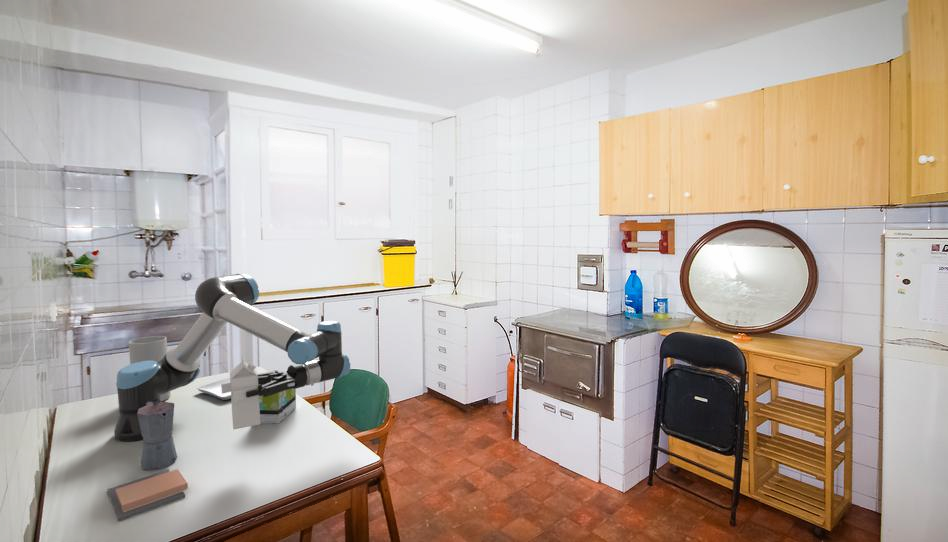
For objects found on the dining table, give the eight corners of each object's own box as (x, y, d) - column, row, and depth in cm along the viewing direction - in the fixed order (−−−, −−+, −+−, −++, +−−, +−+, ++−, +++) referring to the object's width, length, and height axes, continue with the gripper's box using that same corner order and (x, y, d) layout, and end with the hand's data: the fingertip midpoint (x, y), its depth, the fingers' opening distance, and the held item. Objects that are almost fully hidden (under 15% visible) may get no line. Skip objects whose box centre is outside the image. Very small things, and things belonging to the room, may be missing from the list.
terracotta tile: (178, 475, 131) (116, 496, 121) (177, 469, 130) (115, 489, 120) (187, 490, 123) (122, 513, 114) (187, 482, 123) (122, 505, 113)
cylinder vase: (128, 401, 188) (123, 340, 186) (162, 392, 198) (158, 334, 196) (141, 408, 181) (136, 345, 178) (176, 398, 191) (171, 338, 189)
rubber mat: (107, 491, 124) (107, 489, 124) (168, 471, 134) (168, 469, 134) (118, 521, 112) (118, 518, 111) (185, 496, 121) (185, 494, 121)
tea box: (280, 424, 166) (278, 384, 164) (252, 424, 166) (250, 383, 165) (297, 407, 181) (295, 370, 179) (271, 407, 181) (269, 370, 180)
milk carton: (233, 430, 133) (229, 365, 131) (232, 421, 139) (228, 359, 137) (260, 425, 136) (257, 362, 134) (258, 416, 143) (255, 356, 141)
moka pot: (152, 477, 131) (147, 409, 129) (127, 462, 139) (122, 398, 137) (188, 462, 139) (184, 398, 137) (162, 449, 147) (158, 388, 145)
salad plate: (223, 404, 185) (222, 396, 185) (195, 394, 196) (195, 386, 196) (271, 388, 203) (271, 381, 202) (243, 380, 214) (243, 373, 214)
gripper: (319, 394, 142) (241, 415, 126) (289, 378, 157) (216, 396, 141) (318, 370, 141) (239, 389, 126) (288, 356, 157) (214, 372, 141)
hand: (227, 392), depth 133 cm, fingers closed on milk carton, 9 cm apart
